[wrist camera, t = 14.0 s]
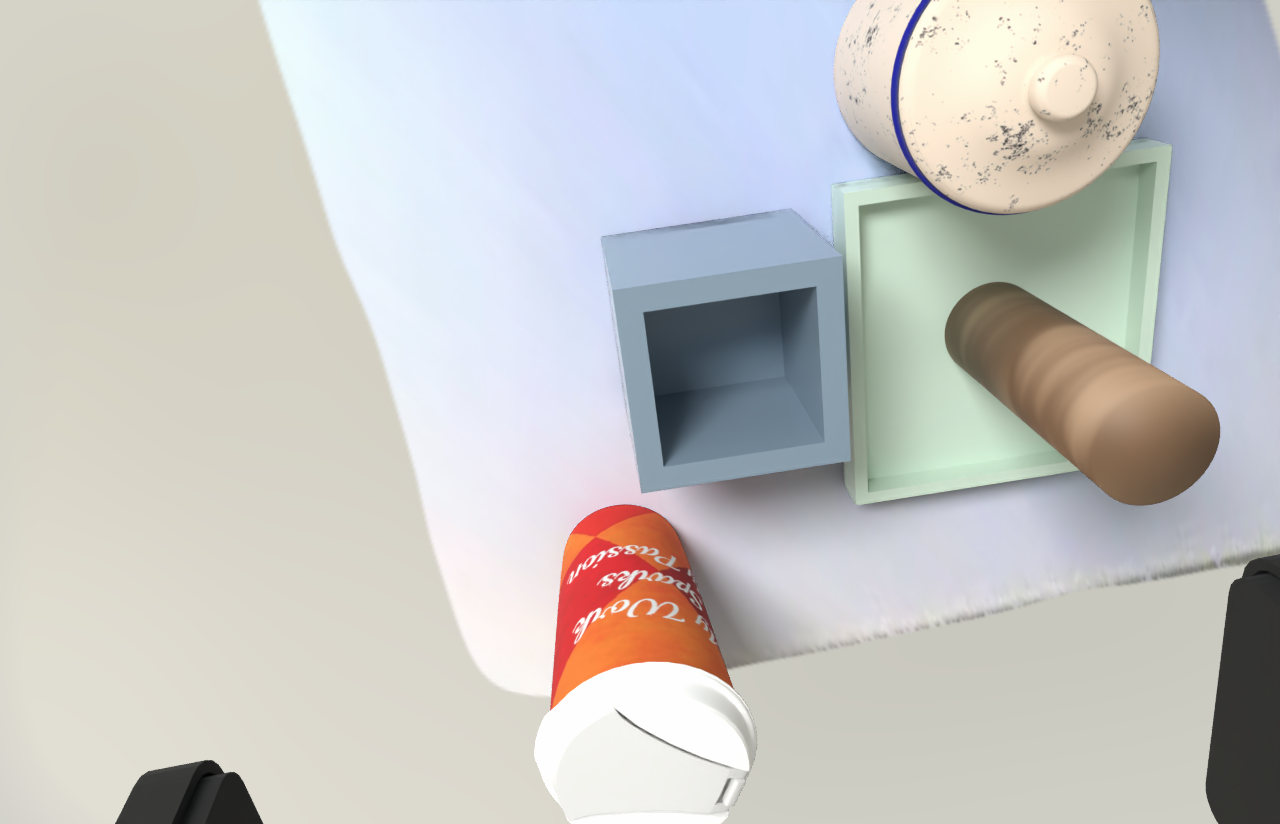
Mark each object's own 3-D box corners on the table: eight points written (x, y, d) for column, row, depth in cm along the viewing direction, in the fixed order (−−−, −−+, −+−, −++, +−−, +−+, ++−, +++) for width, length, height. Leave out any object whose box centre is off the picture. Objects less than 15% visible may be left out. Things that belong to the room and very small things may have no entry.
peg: (943, 290, 43) (1095, 398, 31) (1038, 274, 44) (1226, 376, 32) (945, 380, 45) (1089, 515, 33) (1036, 364, 45) (1213, 493, 33)
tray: (830, 184, 42) (844, 193, 40) (1145, 138, 42) (1172, 144, 40) (844, 485, 48) (856, 505, 46) (1118, 442, 48) (1140, 460, 47)
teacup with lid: (1058, 124, 42) (1232, 172, 31) (859, 204, 42) (963, 278, 32) (998, -179, 37) (1182, -244, 26) (775, -82, 37) (865, -107, 27)
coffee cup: (727, 506, 48) (799, 714, 34) (672, 637, 51) (718, 877, 37) (565, 464, 46) (572, 666, 33) (518, 603, 49) (507, 841, 36)
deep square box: (600, 236, 42) (612, 290, 35) (791, 208, 42) (842, 255, 35) (626, 411, 45) (641, 493, 38) (802, 384, 46) (850, 460, 38)
